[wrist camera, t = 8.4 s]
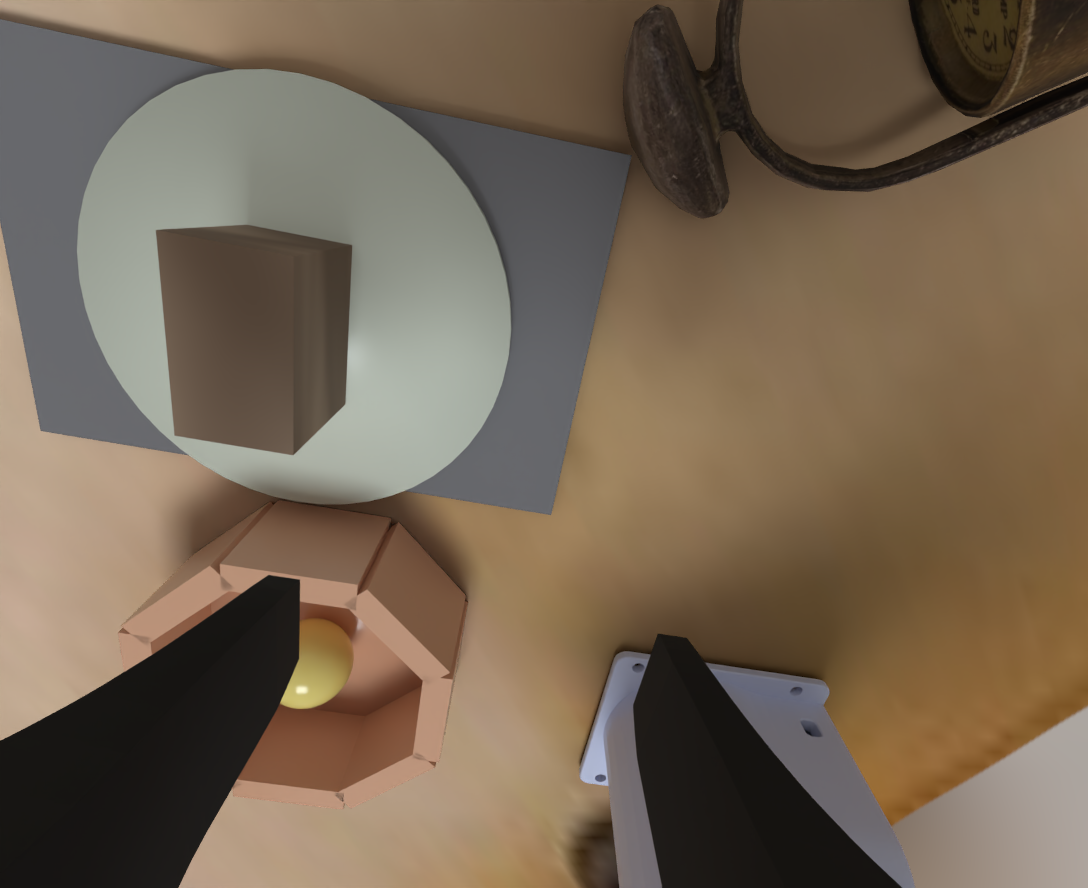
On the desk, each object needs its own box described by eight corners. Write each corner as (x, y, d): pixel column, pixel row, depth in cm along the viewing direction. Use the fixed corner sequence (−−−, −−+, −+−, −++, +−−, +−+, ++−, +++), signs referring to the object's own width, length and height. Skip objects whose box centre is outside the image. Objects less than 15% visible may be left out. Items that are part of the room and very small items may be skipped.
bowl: (479, 532, 21) (465, 601, 17) (446, 731, 25) (429, 820, 22) (185, 484, 20) (104, 546, 16) (202, 698, 24) (142, 784, 21)
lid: (546, 129, 15) (546, 98, 11) (481, 522, 20) (464, 605, 16) (60, 24, 14) (-145, -52, 10) (120, 463, 19) (1, 535, 15)
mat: (629, 156, 16) (631, 155, 15) (550, 509, 20) (551, 515, 20) (-26, 15, 14) (-41, 10, 14) (50, 426, 19) (40, 431, 19)
